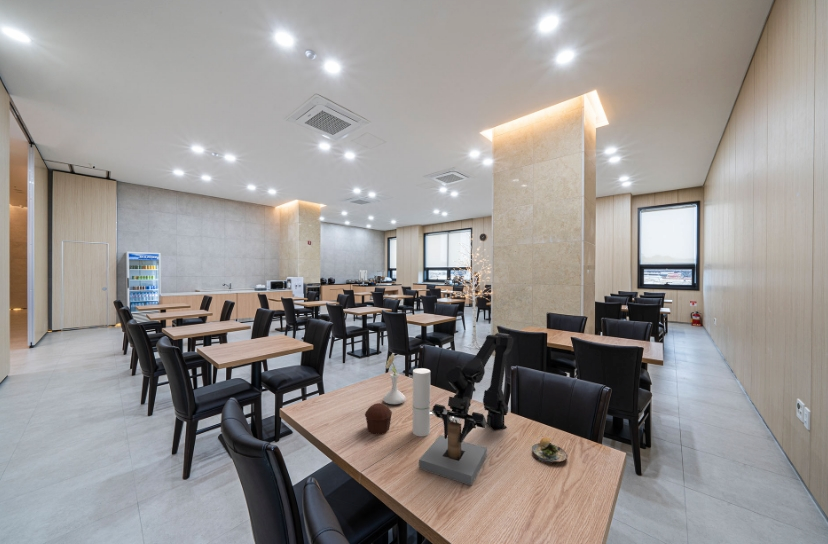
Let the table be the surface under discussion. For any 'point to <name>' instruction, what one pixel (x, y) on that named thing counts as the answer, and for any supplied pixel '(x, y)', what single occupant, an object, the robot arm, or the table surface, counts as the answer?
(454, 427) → the walnut peg
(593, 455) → the table surface
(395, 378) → the flower in vase
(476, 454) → the hub plate
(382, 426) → the muffin
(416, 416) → the cylindrical container
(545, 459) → the plate of food
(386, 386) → the table surface
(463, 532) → the table surface
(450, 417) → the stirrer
